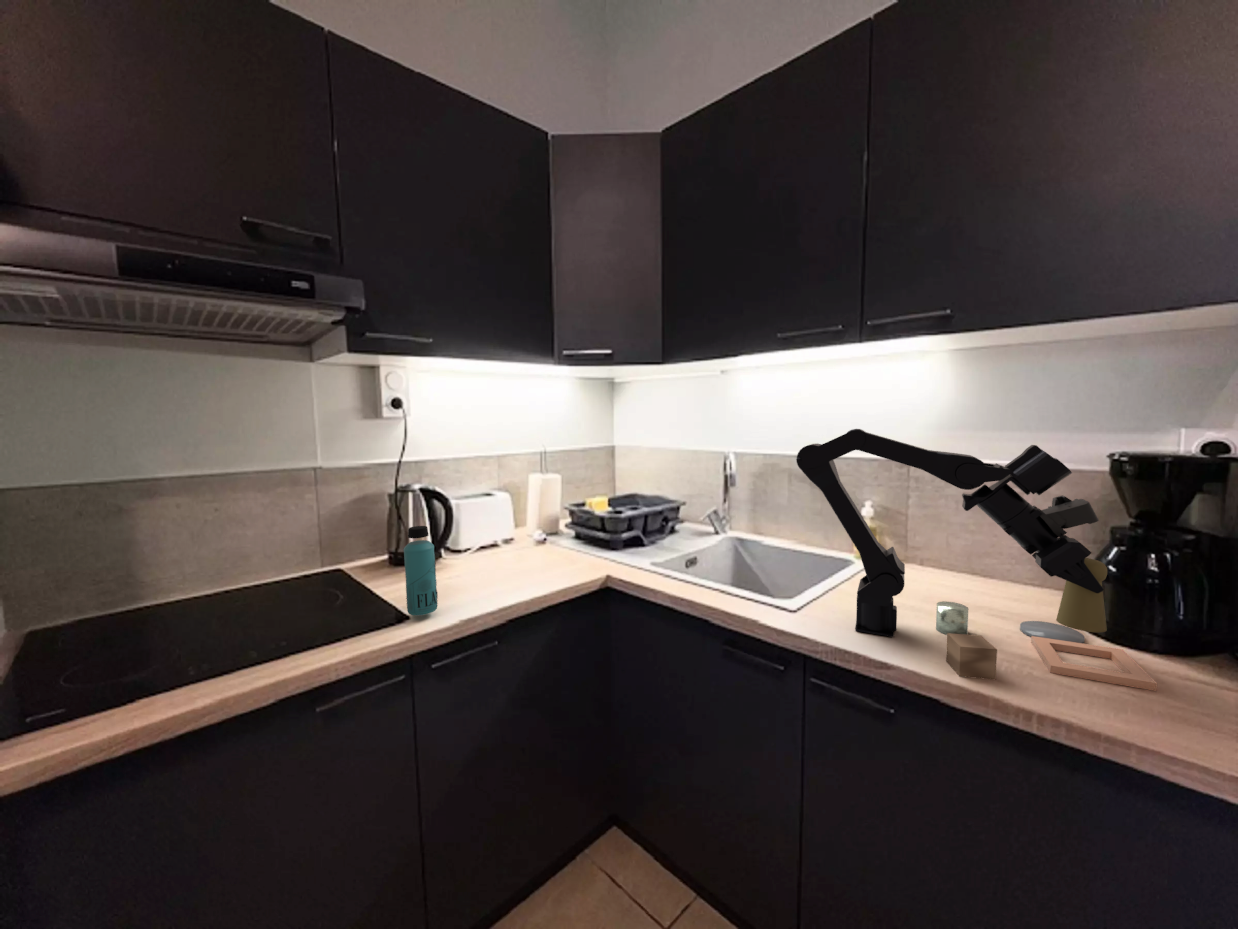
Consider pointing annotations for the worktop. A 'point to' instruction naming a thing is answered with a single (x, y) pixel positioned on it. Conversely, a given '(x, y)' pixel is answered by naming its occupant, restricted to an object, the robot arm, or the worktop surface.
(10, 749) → the worktop surface
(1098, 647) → the hole frame
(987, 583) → the worktop surface
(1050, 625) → the slate coaster
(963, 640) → the walnut block
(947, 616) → the sage tin
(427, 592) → the beverage bottle
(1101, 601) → the olive pepper mill
